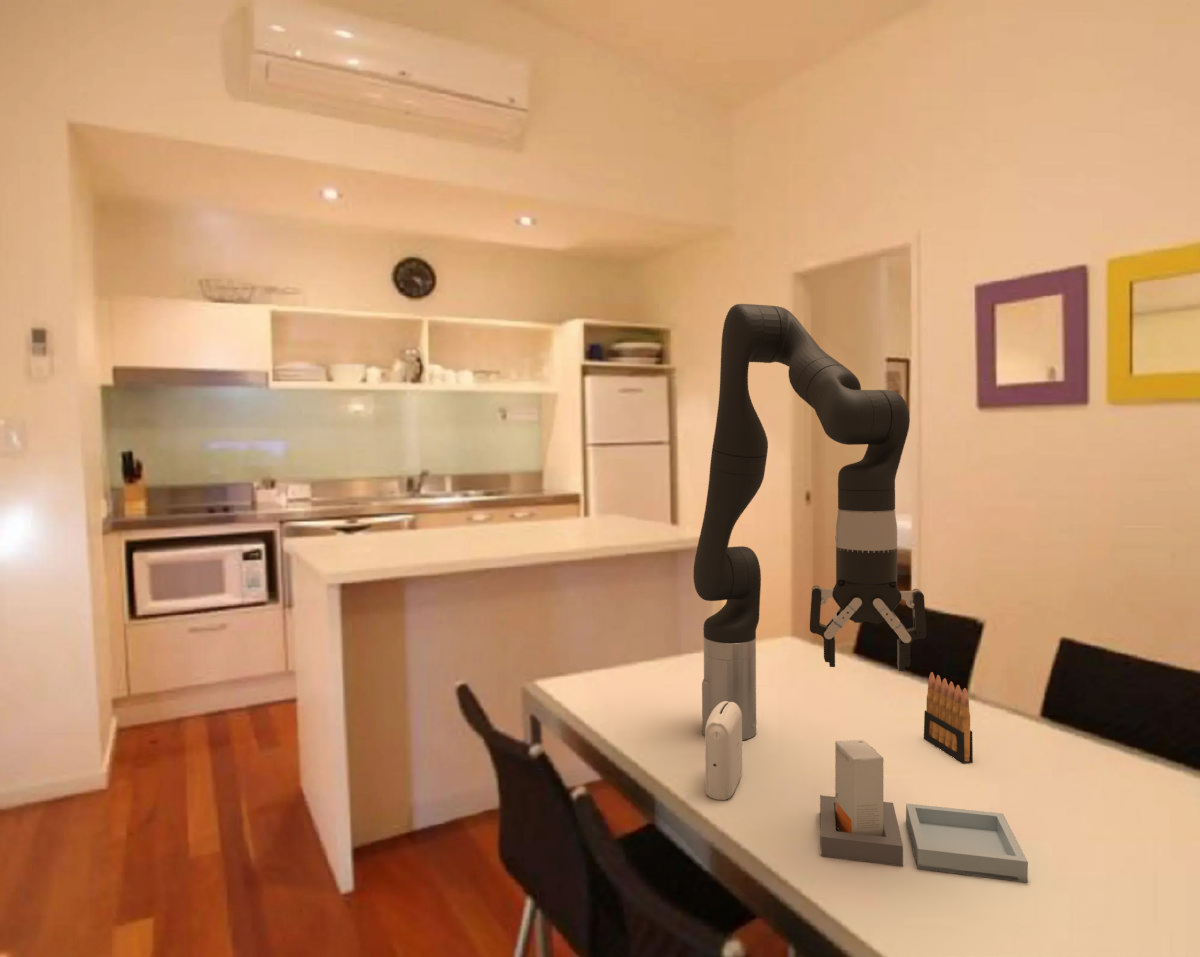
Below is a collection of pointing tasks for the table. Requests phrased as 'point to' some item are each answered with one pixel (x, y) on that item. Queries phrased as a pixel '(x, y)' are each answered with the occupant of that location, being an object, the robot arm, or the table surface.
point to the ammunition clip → (948, 719)
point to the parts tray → (965, 842)
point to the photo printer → (723, 750)
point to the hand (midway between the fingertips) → (866, 667)
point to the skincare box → (858, 788)
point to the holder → (860, 838)
